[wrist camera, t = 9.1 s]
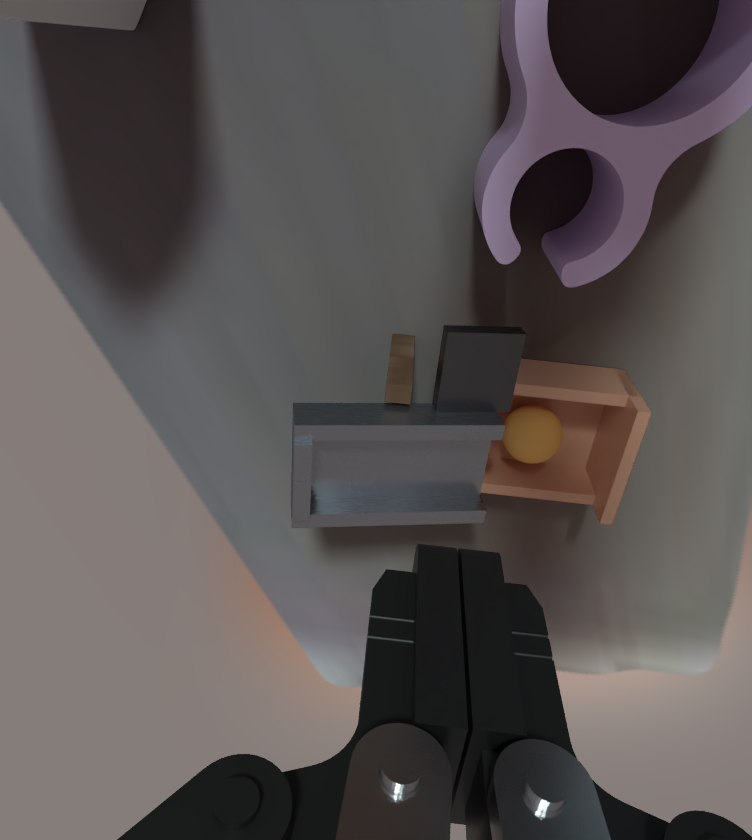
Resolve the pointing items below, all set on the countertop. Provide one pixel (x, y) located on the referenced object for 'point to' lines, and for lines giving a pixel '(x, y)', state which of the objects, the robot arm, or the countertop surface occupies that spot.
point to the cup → (574, 437)
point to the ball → (532, 434)
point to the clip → (602, 139)
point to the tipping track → (408, 442)
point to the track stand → (400, 369)
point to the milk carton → (76, 12)
